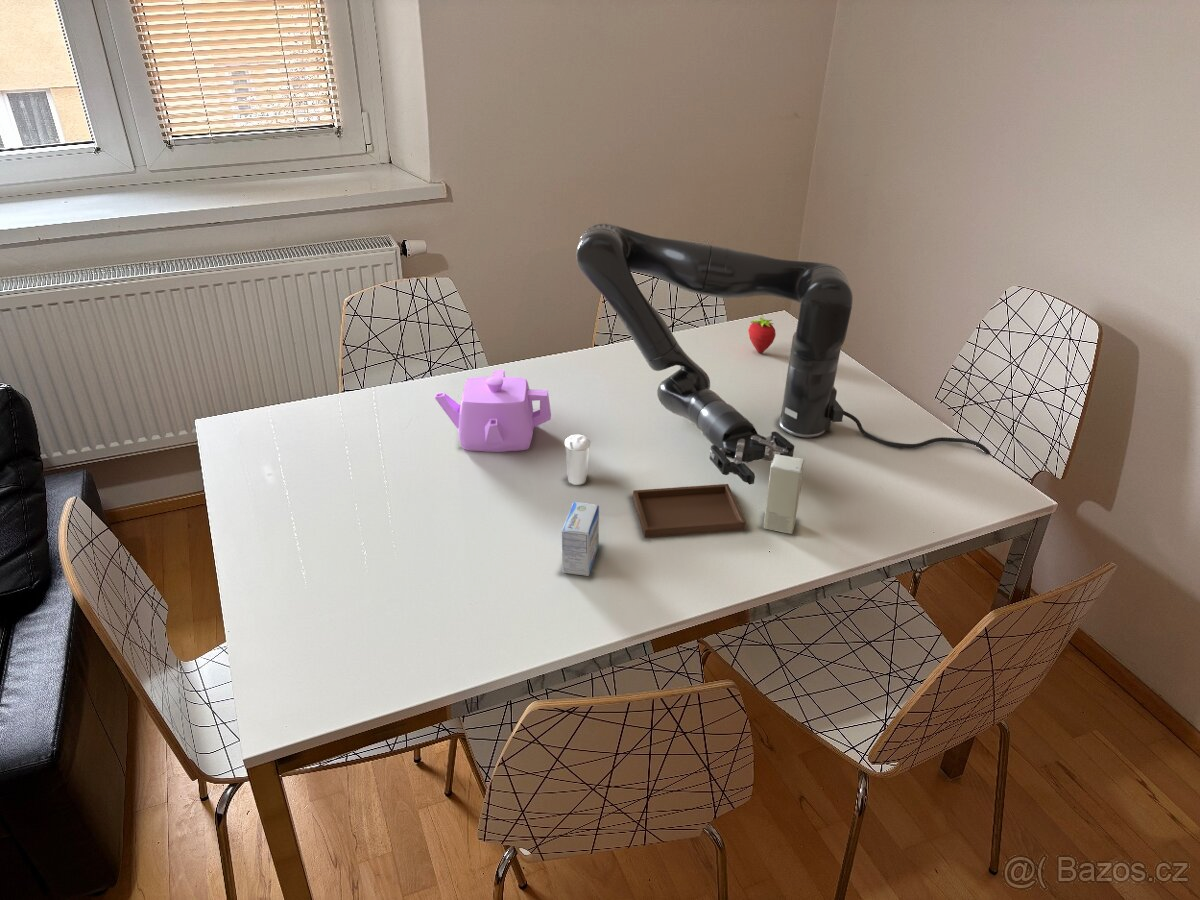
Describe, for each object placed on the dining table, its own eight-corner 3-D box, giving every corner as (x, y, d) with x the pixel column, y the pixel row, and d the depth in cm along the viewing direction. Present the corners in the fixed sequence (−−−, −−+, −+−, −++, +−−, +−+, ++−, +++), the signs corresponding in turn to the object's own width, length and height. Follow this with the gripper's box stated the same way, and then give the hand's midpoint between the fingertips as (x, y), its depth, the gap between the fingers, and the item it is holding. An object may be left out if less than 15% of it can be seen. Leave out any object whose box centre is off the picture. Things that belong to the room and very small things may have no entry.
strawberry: (754, 361, 202) (759, 322, 196) (741, 347, 208) (745, 308, 202) (777, 359, 203) (783, 319, 198) (764, 345, 209) (769, 306, 204)
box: (796, 520, 151) (806, 458, 144) (792, 535, 148) (803, 472, 141) (765, 514, 153) (774, 452, 146) (760, 528, 149) (770, 466, 142)
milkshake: (558, 486, 159) (558, 439, 153) (570, 470, 163) (570, 424, 157) (581, 492, 157) (582, 445, 152) (593, 476, 161) (594, 430, 156)
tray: (727, 491, 158) (728, 483, 157) (744, 530, 149) (746, 522, 148) (632, 498, 156) (632, 490, 155) (644, 537, 147) (644, 529, 146)
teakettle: (558, 435, 173) (557, 379, 167) (493, 469, 163) (490, 412, 156) (500, 405, 183) (497, 351, 176) (435, 436, 172) (430, 380, 166)
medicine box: (588, 577, 138) (589, 534, 133) (561, 573, 139) (561, 530, 134) (599, 546, 144) (600, 504, 140) (572, 542, 145) (572, 500, 140)
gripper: (693, 418, 157) (740, 465, 144) (761, 403, 162) (812, 447, 149) (690, 453, 161) (736, 502, 148) (756, 437, 166) (806, 483, 153)
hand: (774, 474), depth 149 cm, fingers open, 8 cm apart
